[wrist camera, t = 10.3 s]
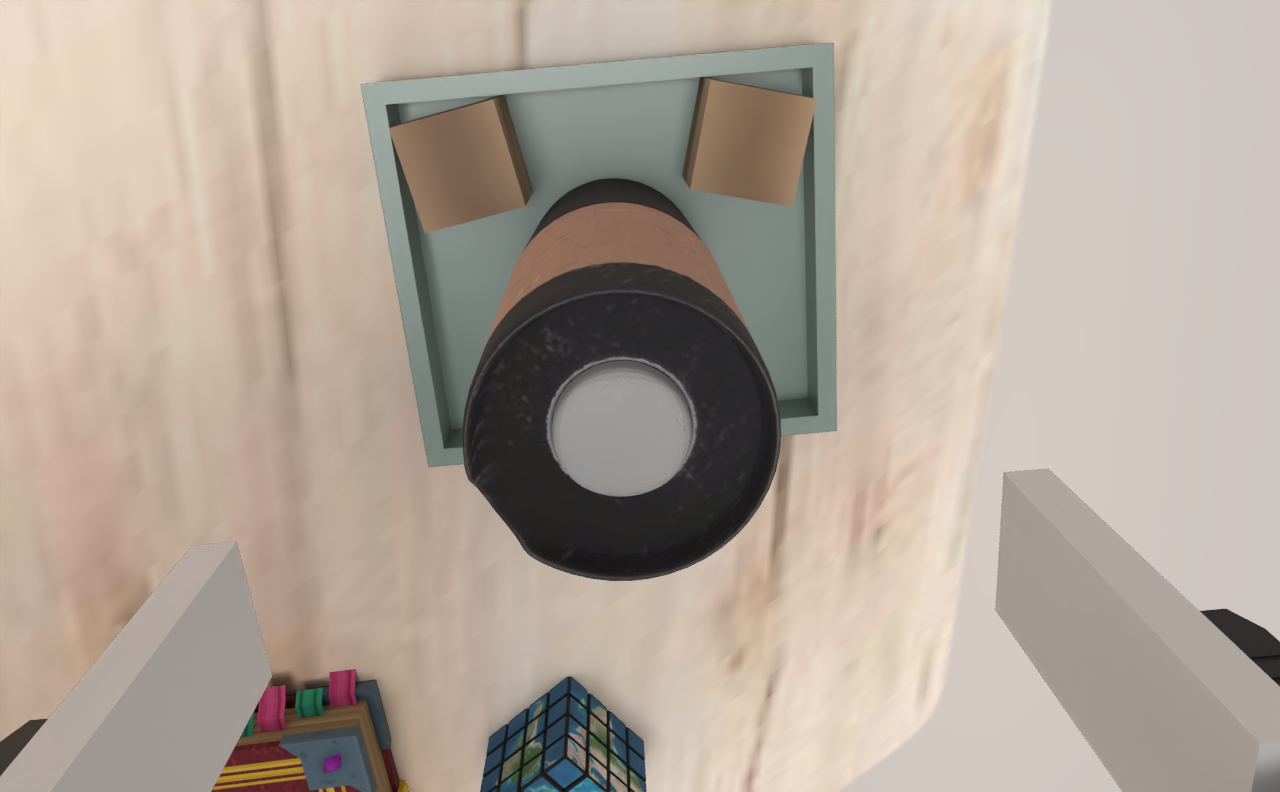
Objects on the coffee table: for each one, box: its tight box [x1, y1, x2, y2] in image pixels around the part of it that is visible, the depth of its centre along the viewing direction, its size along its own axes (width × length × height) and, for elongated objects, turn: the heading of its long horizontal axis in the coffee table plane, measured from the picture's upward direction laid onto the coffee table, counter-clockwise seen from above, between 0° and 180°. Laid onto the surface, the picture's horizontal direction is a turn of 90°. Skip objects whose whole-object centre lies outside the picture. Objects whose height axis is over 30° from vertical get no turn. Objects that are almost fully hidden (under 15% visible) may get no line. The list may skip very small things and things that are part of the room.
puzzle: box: [480, 677, 646, 792], centre depth 47 cm, size 6×6×6 cm
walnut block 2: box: [682, 77, 817, 207], centre depth 37 cm, size 4×4×4 cm
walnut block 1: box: [389, 95, 533, 234], centre depth 37 cm, size 4×4×4 cm
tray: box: [361, 43, 837, 467], centre depth 40 cm, size 18×16×3 cm
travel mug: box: [462, 178, 781, 581], centre depth 31 cm, size 8×8×20 cm
